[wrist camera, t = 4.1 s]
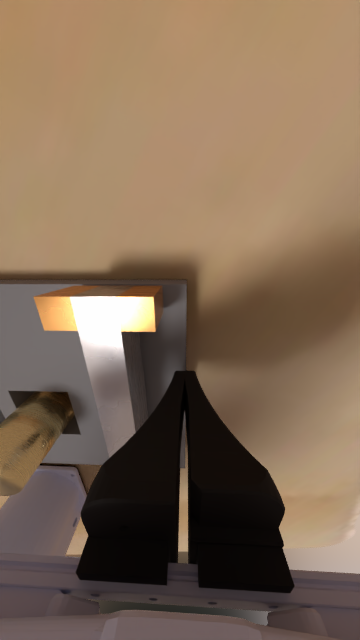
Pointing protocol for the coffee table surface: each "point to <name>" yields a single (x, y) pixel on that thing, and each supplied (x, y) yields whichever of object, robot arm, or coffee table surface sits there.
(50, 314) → the lever
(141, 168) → the coffee table surface
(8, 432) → the pin
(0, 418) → the tray
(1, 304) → the crank plate
